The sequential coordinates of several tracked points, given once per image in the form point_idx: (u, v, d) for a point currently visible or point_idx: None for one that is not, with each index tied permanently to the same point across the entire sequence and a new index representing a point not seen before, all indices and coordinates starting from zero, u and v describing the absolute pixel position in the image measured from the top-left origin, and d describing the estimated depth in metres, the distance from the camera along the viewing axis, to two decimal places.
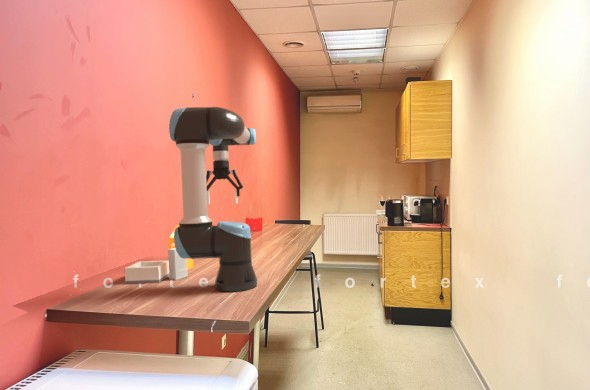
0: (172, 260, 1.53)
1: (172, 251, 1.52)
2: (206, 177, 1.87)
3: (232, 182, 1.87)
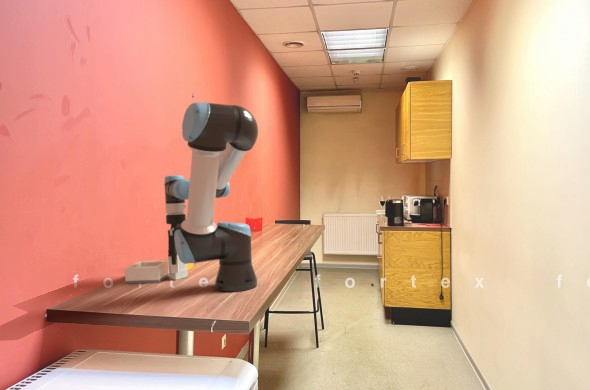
0: None
1: None
2: None
3: None
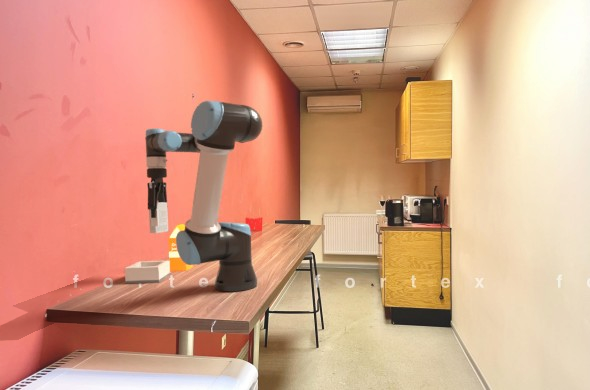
0: None
1: None
2: None
3: None
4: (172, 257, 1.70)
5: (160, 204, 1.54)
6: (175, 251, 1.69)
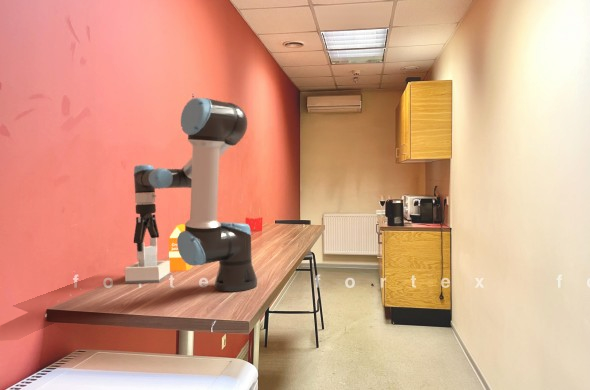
0: None
1: None
2: None
3: None
4: (172, 257, 1.70)
5: (149, 249, 1.54)
6: (175, 251, 1.69)
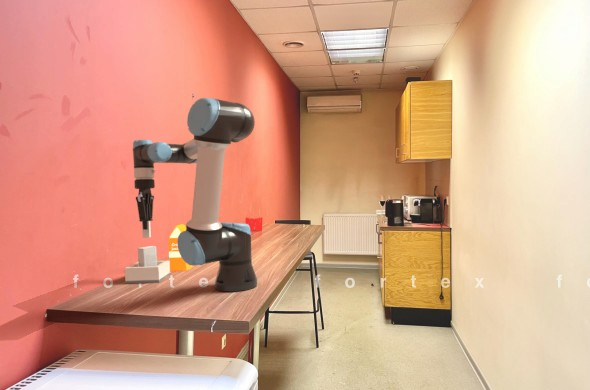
0: (141, 258, 1.52)
1: (141, 250, 1.52)
2: None
3: None
4: (172, 257, 1.70)
5: (149, 249, 1.54)
6: (175, 251, 1.69)
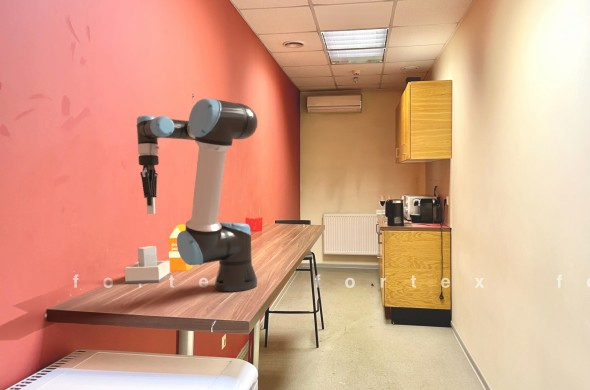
0: (141, 258, 1.52)
1: (141, 250, 1.52)
2: None
3: None
4: (172, 257, 1.70)
5: (149, 249, 1.54)
6: (175, 251, 1.69)
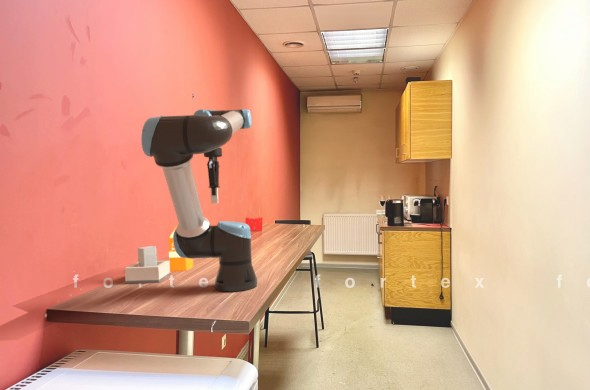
0: (141, 258, 1.52)
1: (141, 250, 1.52)
2: None
3: None
4: (172, 257, 1.70)
5: (149, 249, 1.54)
6: (175, 251, 1.69)
